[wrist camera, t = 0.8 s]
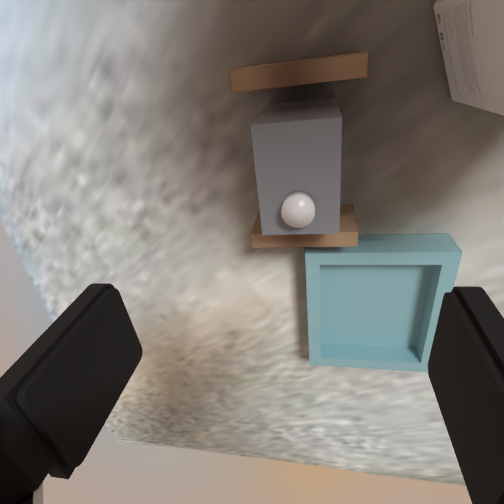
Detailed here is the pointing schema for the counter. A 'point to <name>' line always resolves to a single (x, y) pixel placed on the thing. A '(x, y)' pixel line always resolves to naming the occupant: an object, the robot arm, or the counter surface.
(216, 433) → the counter surface
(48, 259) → the counter surface
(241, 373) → the counter surface
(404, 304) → the tray
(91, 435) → the robot arm
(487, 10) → the skincare box
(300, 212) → the grey rectangular block
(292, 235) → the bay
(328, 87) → the counter surface
